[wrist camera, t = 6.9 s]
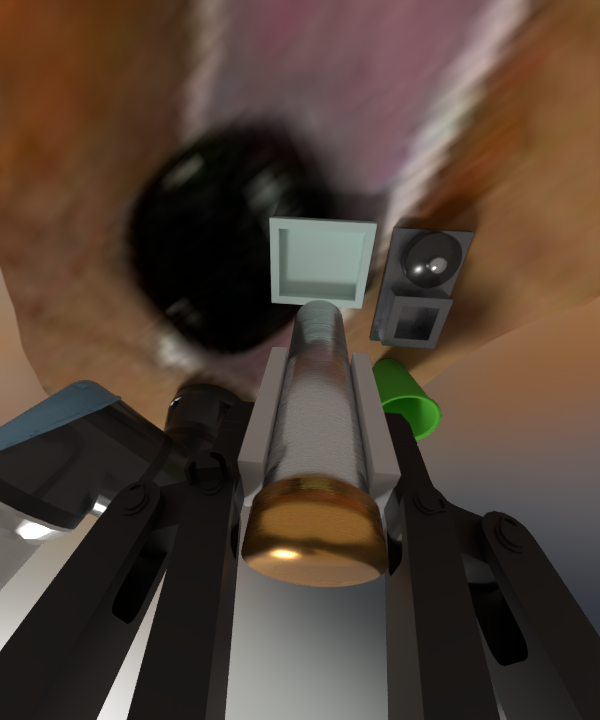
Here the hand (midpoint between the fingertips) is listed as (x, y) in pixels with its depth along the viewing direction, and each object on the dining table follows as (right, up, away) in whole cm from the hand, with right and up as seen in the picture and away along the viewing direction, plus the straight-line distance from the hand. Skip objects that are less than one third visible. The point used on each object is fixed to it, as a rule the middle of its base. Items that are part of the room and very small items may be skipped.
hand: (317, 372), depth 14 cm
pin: (0, +3, +5) cm, 6 cm away
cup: (+14, -1, +29) cm, 32 cm away
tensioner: (+14, +10, +21) cm, 27 cm away
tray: (+2, +13, +20) cm, 24 cm away
